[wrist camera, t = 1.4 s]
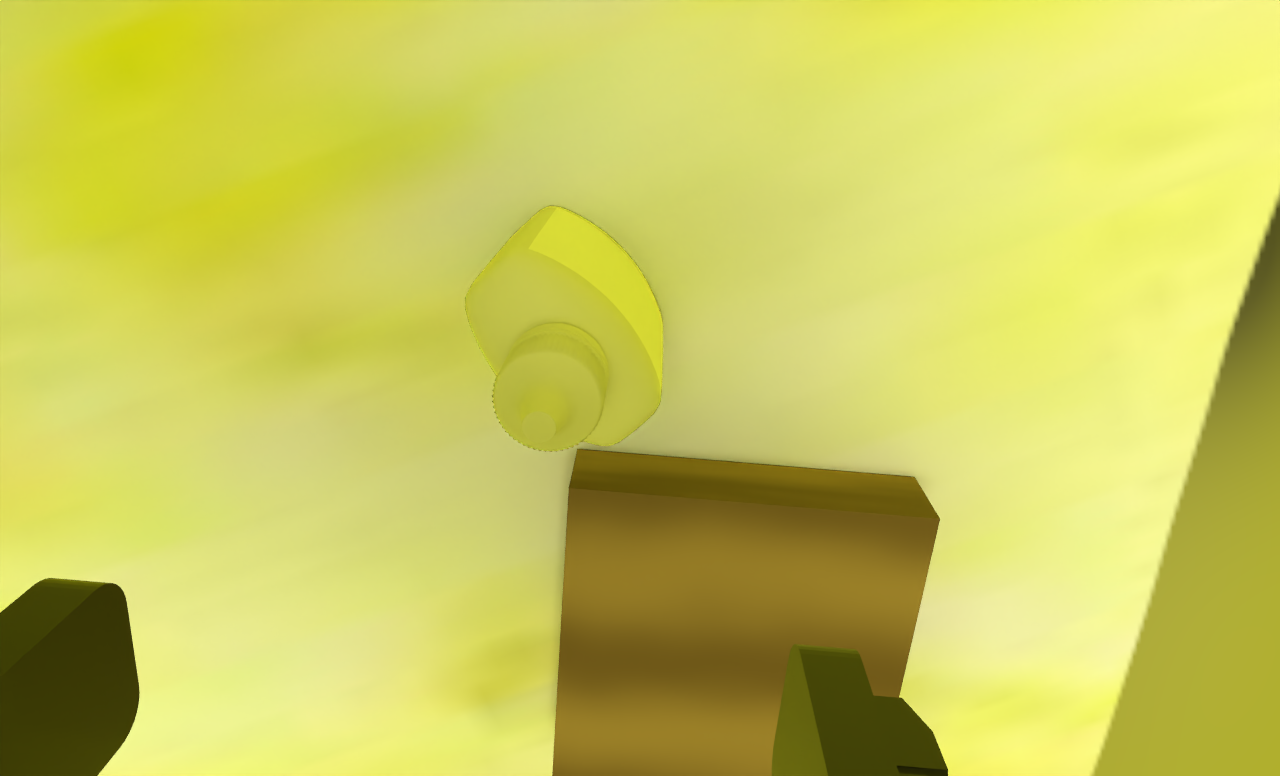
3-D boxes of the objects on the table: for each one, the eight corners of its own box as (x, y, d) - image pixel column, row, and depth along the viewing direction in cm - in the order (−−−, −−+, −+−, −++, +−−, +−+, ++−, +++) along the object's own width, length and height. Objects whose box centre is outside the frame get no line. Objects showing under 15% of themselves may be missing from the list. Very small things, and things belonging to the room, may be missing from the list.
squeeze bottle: (633, 184, 27) (612, 269, 16) (670, 349, 29) (674, 527, 18) (500, 214, 28) (391, 318, 17) (545, 375, 30) (474, 565, 19)
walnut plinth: (577, 449, 31) (569, 487, 28) (914, 477, 31) (939, 518, 28) (561, 719, 35) (552, 776, 32) (857, 743, 35) (874, 802, 32)
